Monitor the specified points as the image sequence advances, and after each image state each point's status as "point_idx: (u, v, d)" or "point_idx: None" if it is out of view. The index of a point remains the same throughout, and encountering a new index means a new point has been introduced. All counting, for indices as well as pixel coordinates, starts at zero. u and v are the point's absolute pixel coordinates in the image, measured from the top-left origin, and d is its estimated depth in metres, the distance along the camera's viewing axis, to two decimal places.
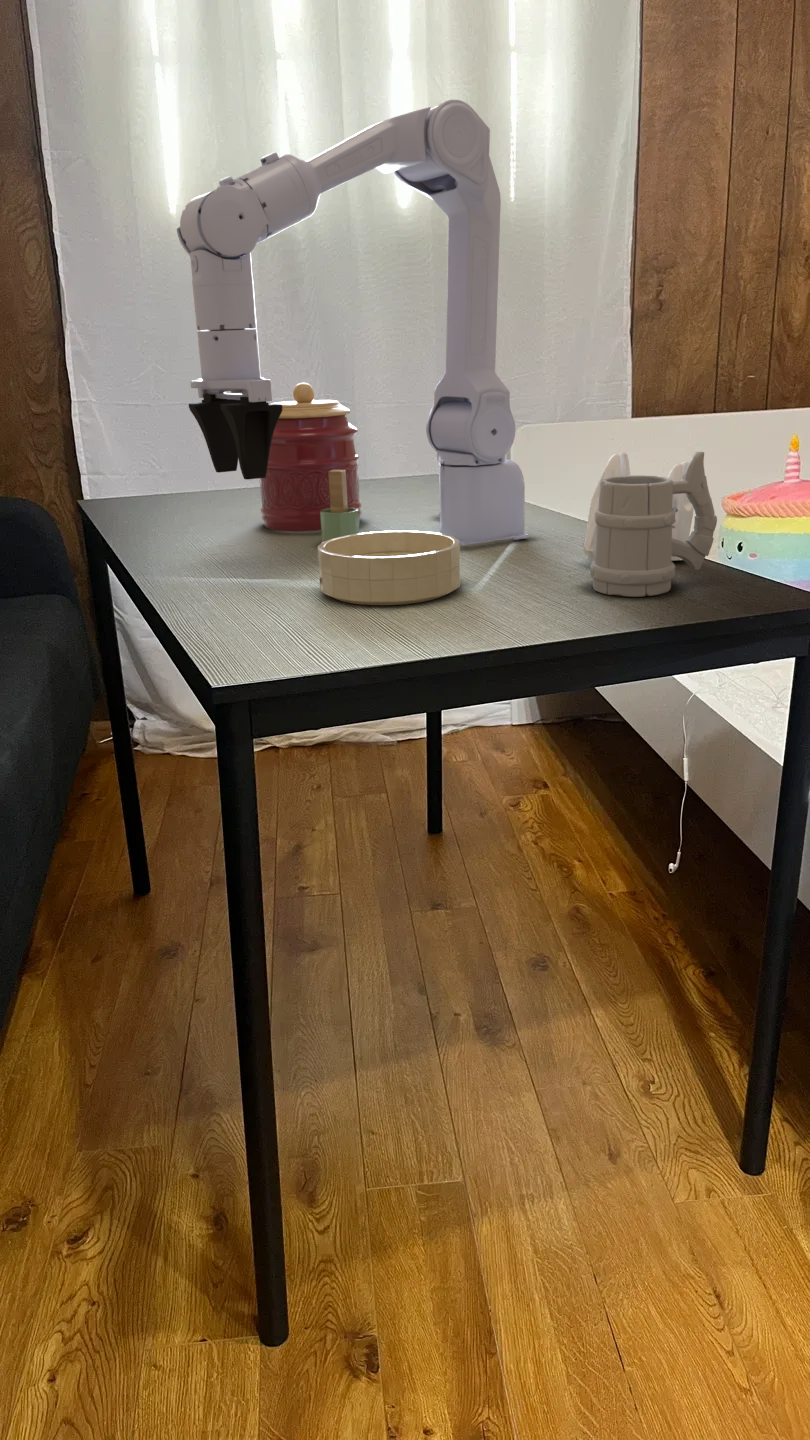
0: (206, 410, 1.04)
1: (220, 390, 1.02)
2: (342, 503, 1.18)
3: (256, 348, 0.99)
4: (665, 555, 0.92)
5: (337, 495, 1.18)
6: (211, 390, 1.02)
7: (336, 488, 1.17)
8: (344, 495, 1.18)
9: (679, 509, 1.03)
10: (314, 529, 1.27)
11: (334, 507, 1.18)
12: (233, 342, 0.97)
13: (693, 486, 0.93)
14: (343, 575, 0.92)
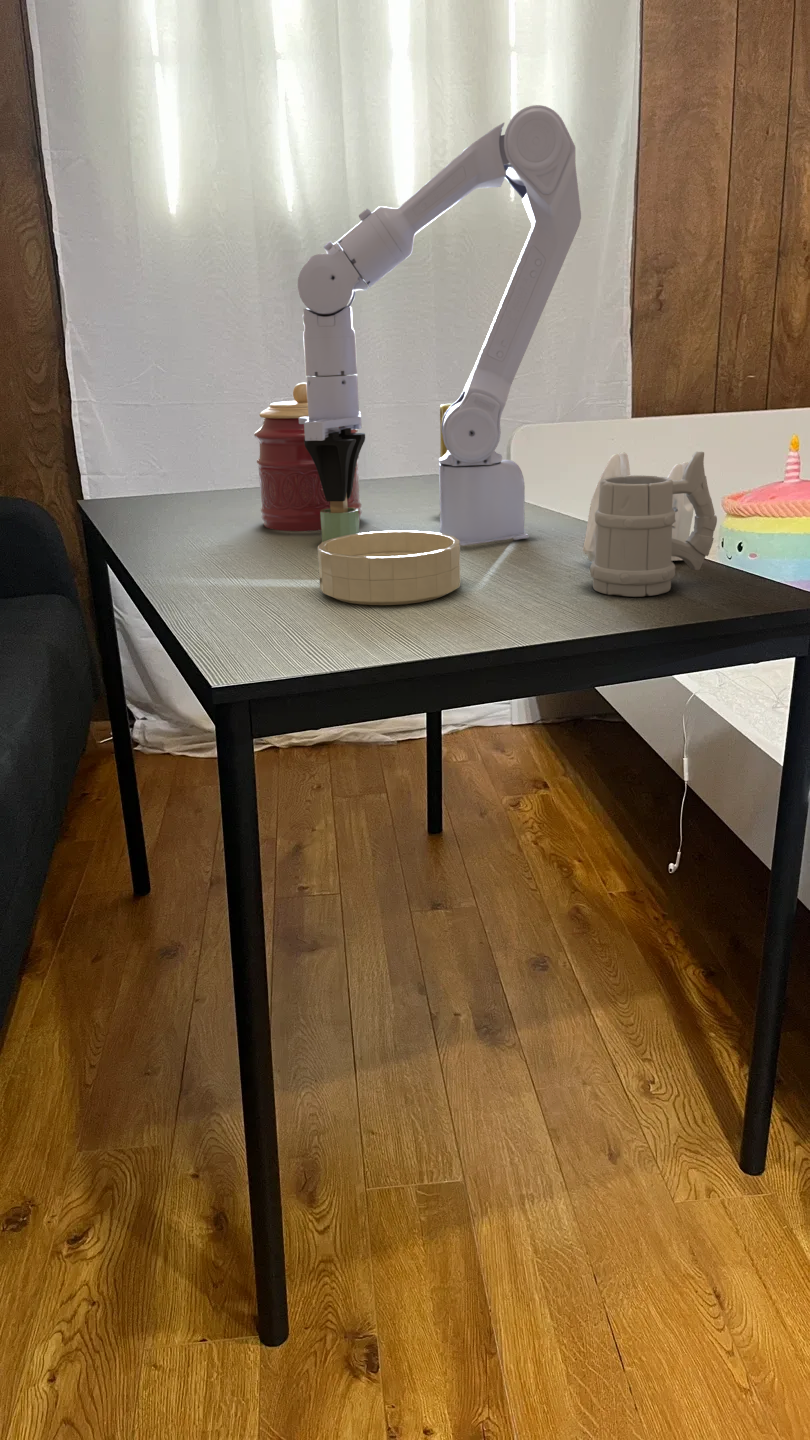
0: None
1: None
2: (342, 503, 1.18)
3: (345, 391, 1.12)
4: (665, 555, 0.92)
5: None
6: None
7: None
8: None
9: (679, 509, 1.03)
10: (314, 529, 1.27)
11: (334, 507, 1.18)
12: (319, 387, 1.12)
13: (693, 486, 0.93)
14: (343, 575, 0.92)
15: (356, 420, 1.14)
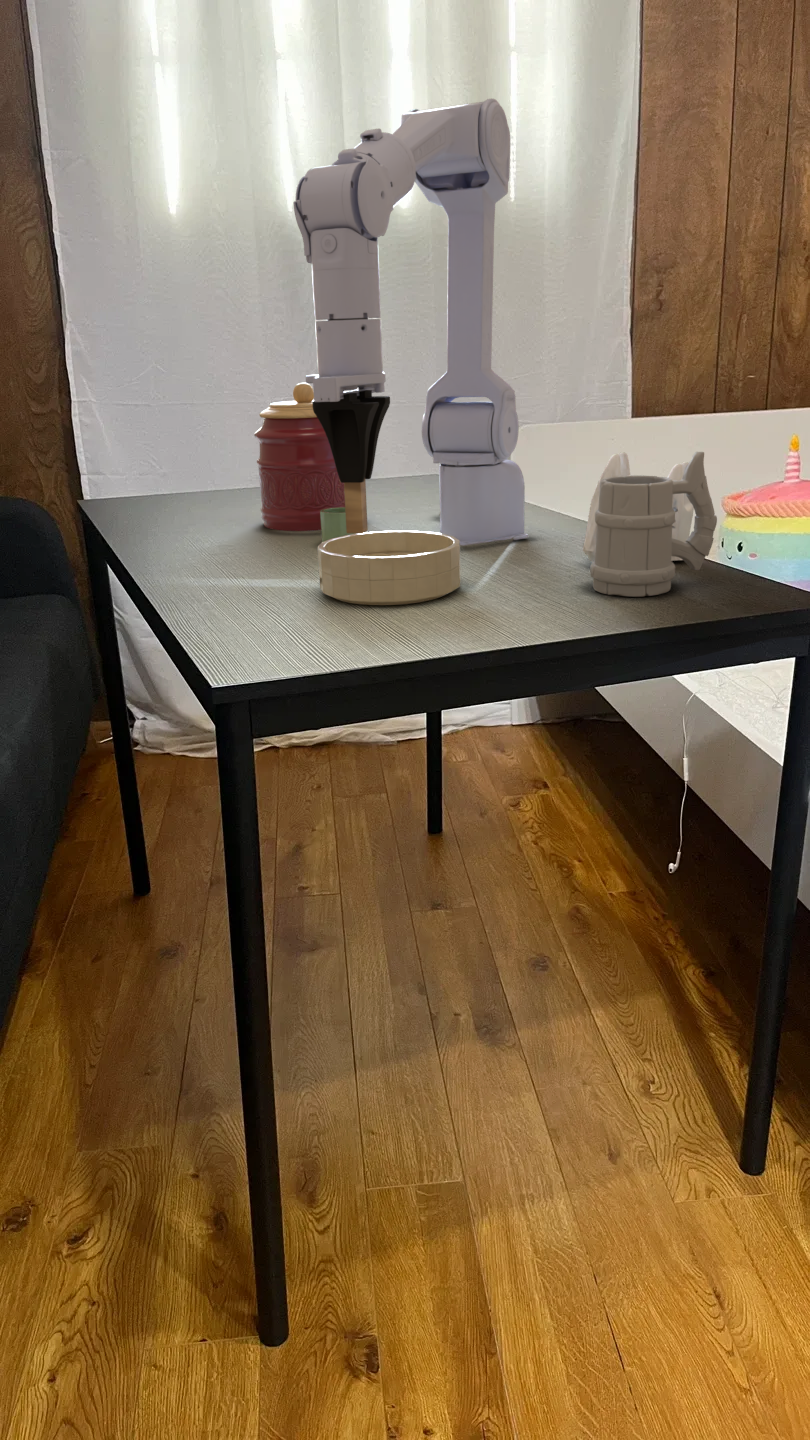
0: None
1: None
2: (360, 484, 0.93)
3: (365, 340, 0.87)
4: (665, 555, 0.92)
5: None
6: None
7: None
8: None
9: (679, 509, 1.03)
10: (314, 529, 1.27)
11: (350, 490, 0.93)
12: (332, 334, 0.87)
13: (693, 486, 0.93)
14: (343, 575, 0.92)
15: (379, 378, 0.89)
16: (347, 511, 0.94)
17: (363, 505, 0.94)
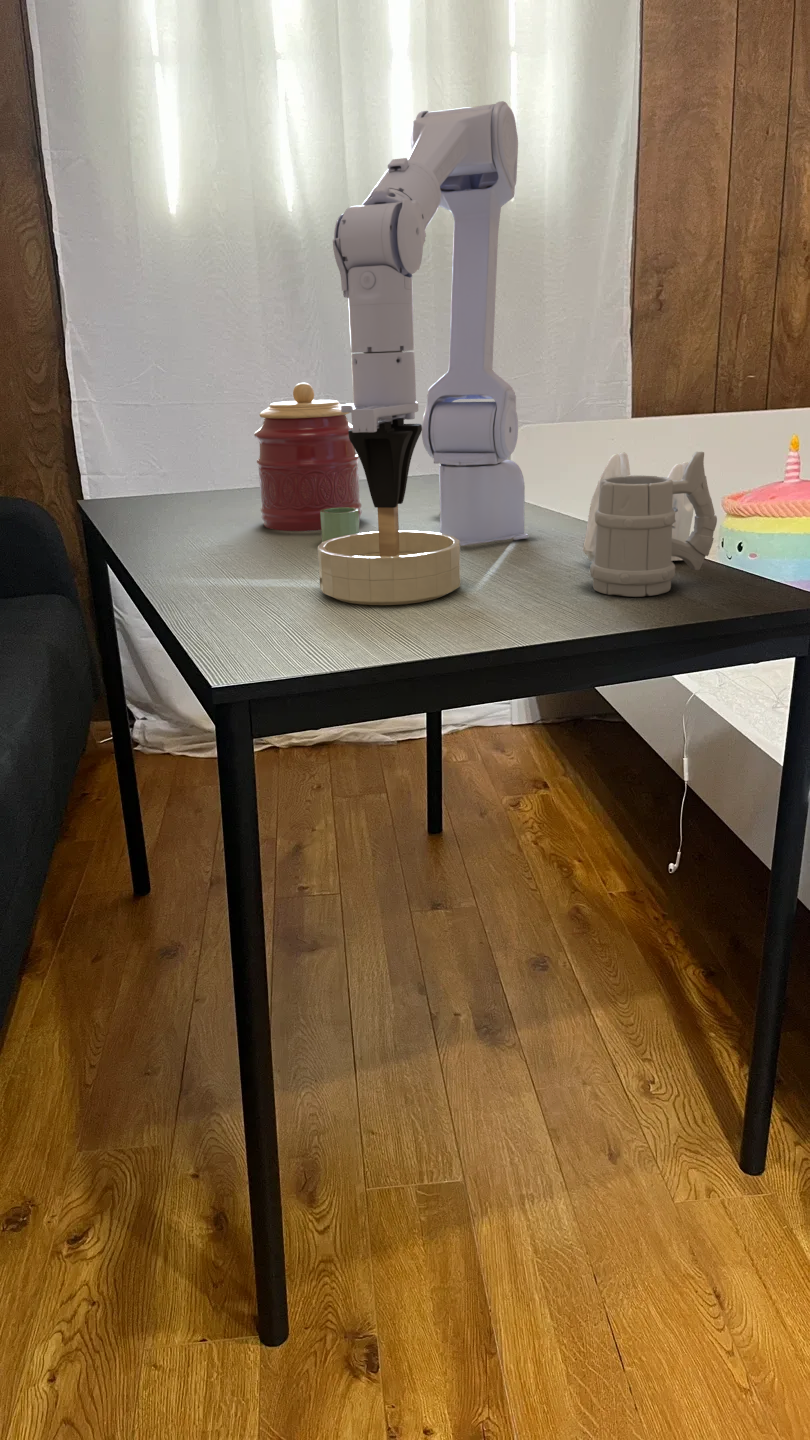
0: None
1: None
2: (393, 509, 0.96)
3: (400, 372, 0.91)
4: (665, 555, 0.92)
5: None
6: None
7: None
8: None
9: (679, 509, 1.03)
10: (314, 529, 1.27)
11: (383, 515, 0.97)
12: (368, 366, 0.90)
13: (693, 486, 0.93)
14: (343, 575, 0.92)
15: (413, 407, 0.92)
16: (380, 535, 0.97)
17: (396, 528, 0.97)
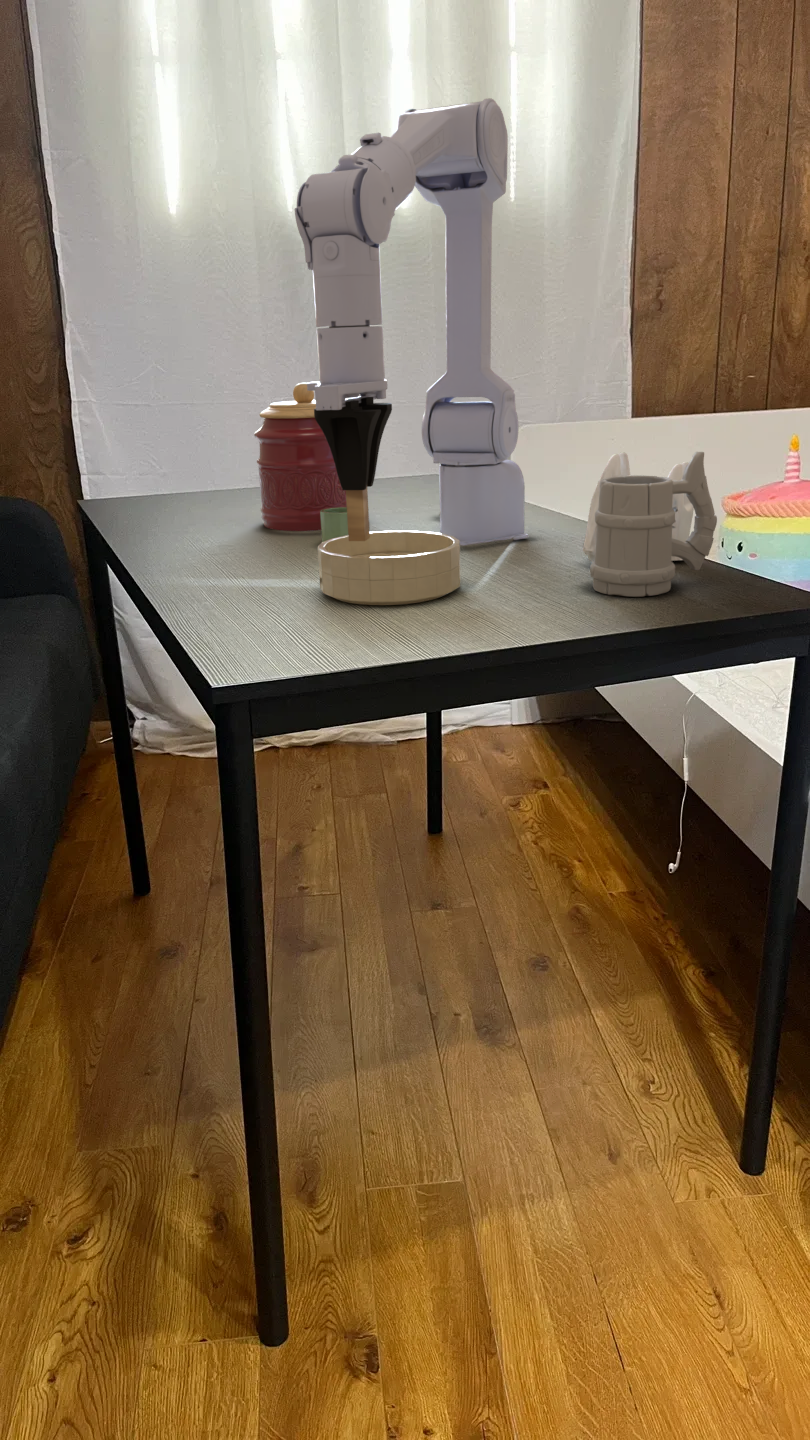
0: None
1: None
2: (362, 492, 0.92)
3: (367, 347, 0.87)
4: (665, 555, 0.92)
5: None
6: None
7: None
8: None
9: (679, 509, 1.03)
10: (314, 529, 1.27)
11: (352, 498, 0.93)
12: (333, 341, 0.86)
13: (693, 486, 0.93)
14: (343, 575, 0.92)
15: (381, 385, 0.88)
16: (349, 519, 0.93)
17: (365, 512, 0.93)
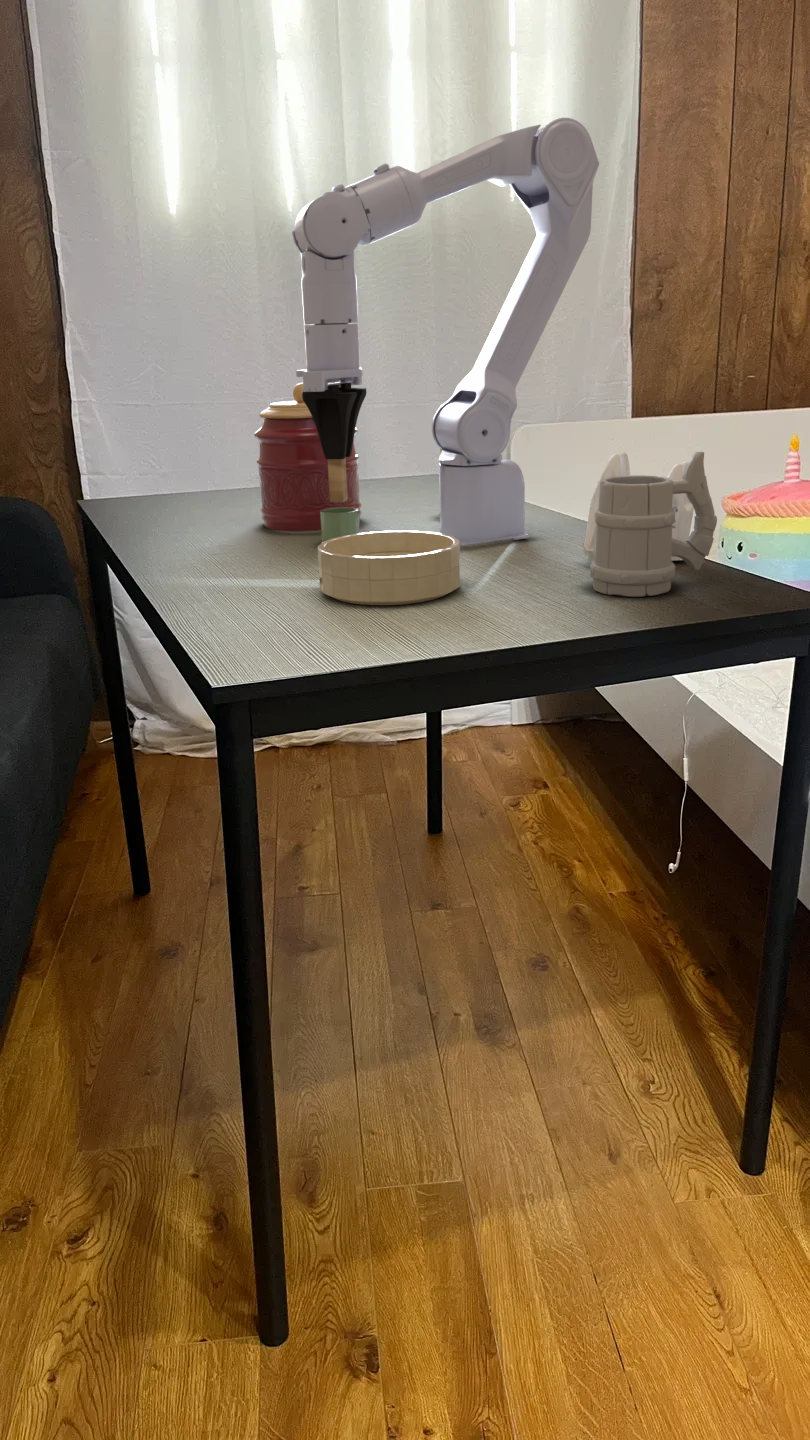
0: None
1: None
2: (340, 460, 1.12)
3: (345, 341, 1.06)
4: (665, 555, 0.92)
5: None
6: None
7: None
8: None
9: (679, 509, 1.03)
10: (314, 529, 1.27)
11: (332, 465, 1.12)
12: (318, 336, 1.06)
13: (693, 486, 0.93)
14: (343, 575, 0.92)
15: (357, 372, 1.08)
16: (330, 483, 1.13)
17: (344, 478, 1.13)
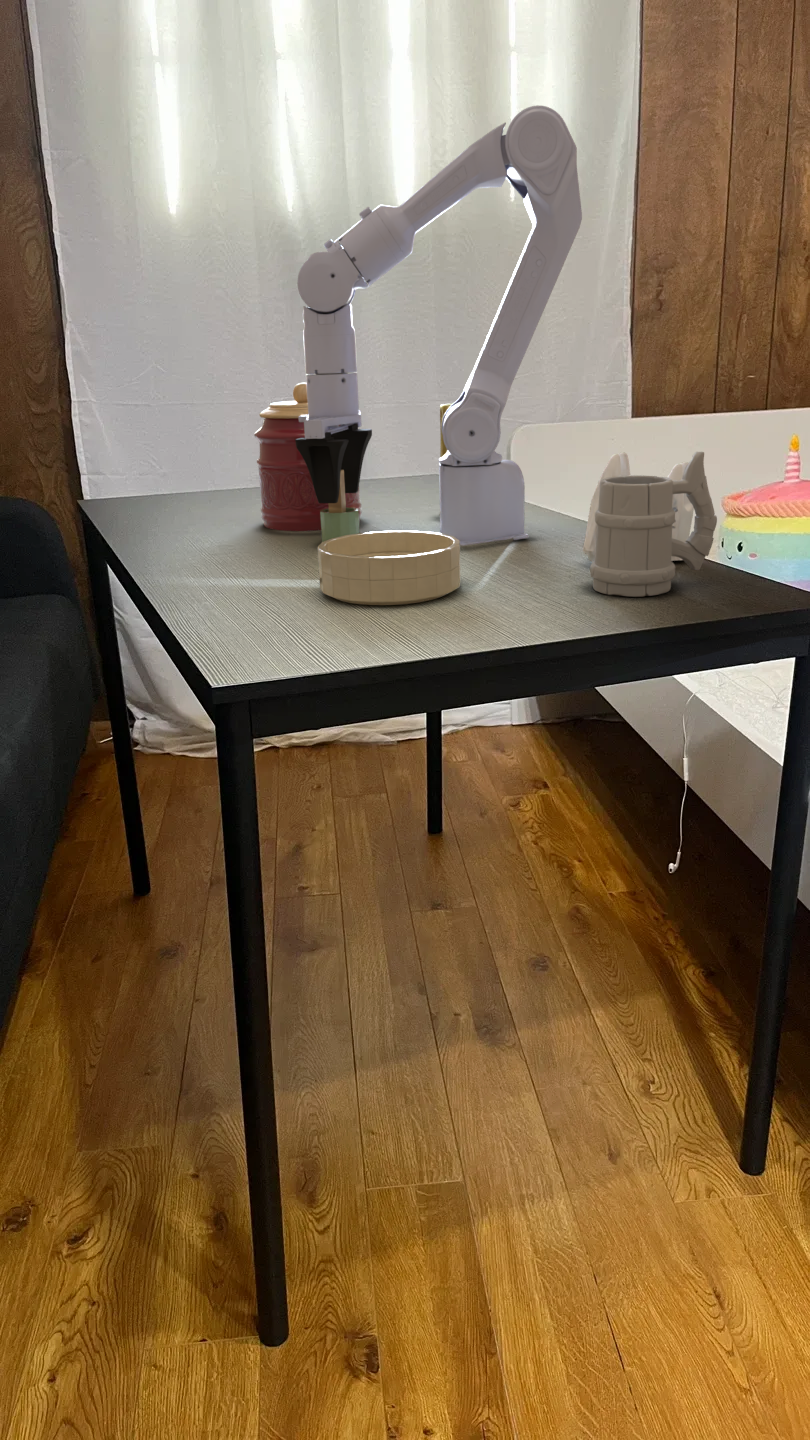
0: None
1: None
2: (340, 503, 1.18)
3: (344, 389, 1.12)
4: (665, 555, 0.92)
5: None
6: None
7: None
8: (343, 495, 1.18)
9: (679, 509, 1.03)
10: (314, 529, 1.27)
11: (333, 507, 1.18)
12: (319, 385, 1.12)
13: (693, 486, 0.93)
14: (343, 575, 0.92)
15: (356, 418, 1.14)
16: None
17: None
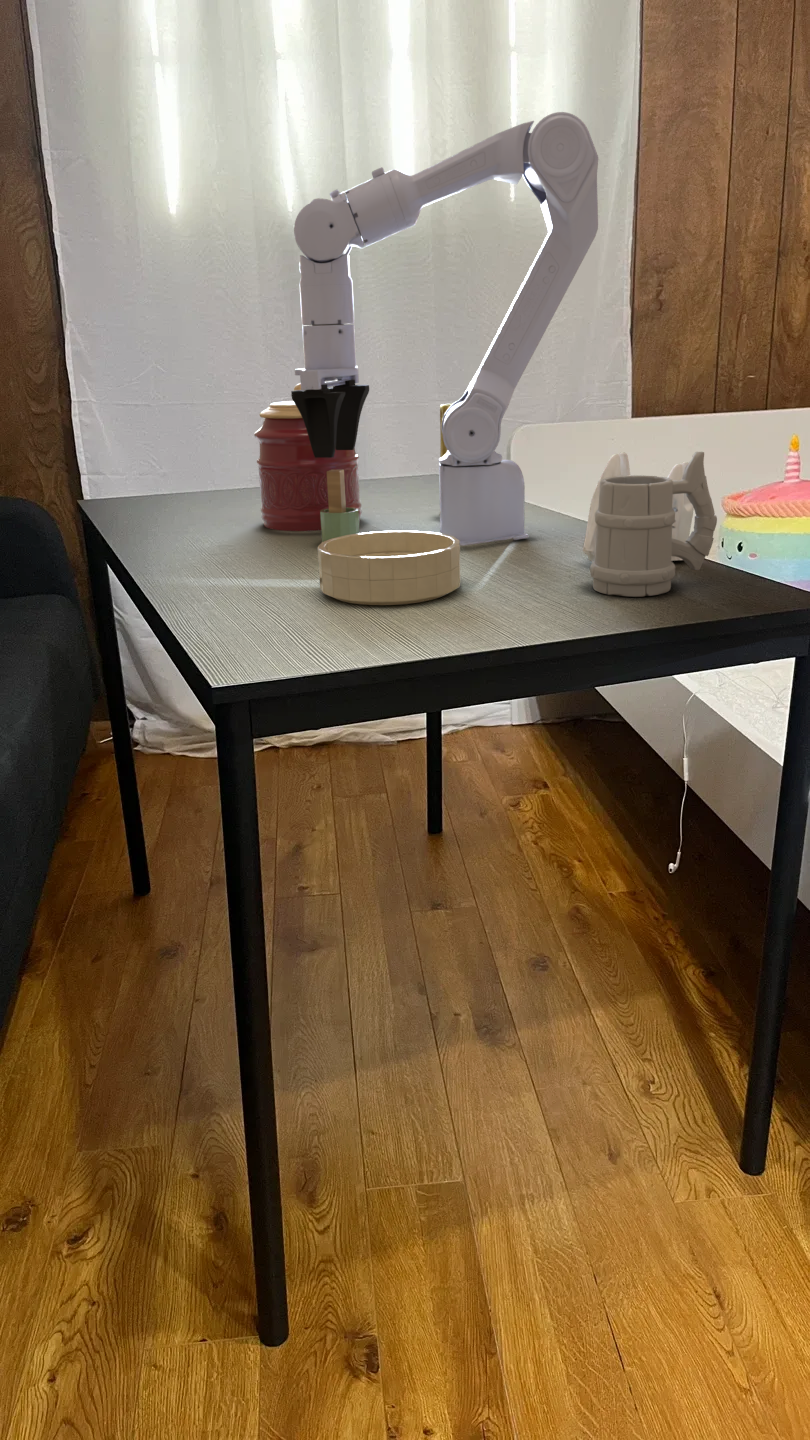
0: None
1: None
2: (340, 502, 1.18)
3: (341, 341, 1.10)
4: (665, 555, 0.92)
5: (335, 495, 1.18)
6: None
7: (334, 488, 1.18)
8: (343, 495, 1.18)
9: (679, 509, 1.03)
10: (314, 529, 1.27)
11: (333, 507, 1.18)
12: (315, 336, 1.10)
13: (693, 486, 0.93)
14: (343, 575, 0.92)
15: (353, 371, 1.12)
16: None
17: None
